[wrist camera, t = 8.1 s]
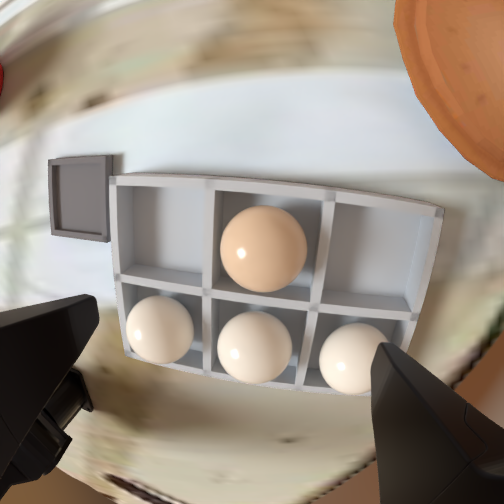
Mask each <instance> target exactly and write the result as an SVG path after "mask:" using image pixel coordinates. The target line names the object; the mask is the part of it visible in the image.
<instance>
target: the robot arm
mask: <svg viewBox="0 0 504 504" xmlns="http://www.w3.org/2000/svg"><path fill="white" fill-rule="evenodd" d="M98 324H99V312H98V306H97V301H96V298H95V297H94V296H91V295H87V294H82V295H78V296H73V297H68V298H64V299H59V300H55V301H50V302H45V303H41V304H36V305H31V306H27V307H22V308H17V309H13V310H8V311H3V312H0V500H1V499H2V497H3V496H4V495H5V493H6V492H7V491H8V489H9V488H10V487H11V486H12V485H16V484H21V483H25V482H30V481H34V480H38V479H39V478H40V477H41V475H42V474H43V475H47V474H48V473H50V472H51V471H52V470H53V469H54V468H55V467H56V465H57V464H58V463H59V461H60V459H61V458H62V456H63V454H64V453H65V451H66V449H67V448H68V446H69V444H70V443H71V441H72V438H71V437H70V436H68V435H67V434H66V433H65V432H64V431H63V430H64V429H65V428H66V427H67V425H68V424H69V423H70V422H71V421H72V419H73V418H74V417H75V416H76V415H77V413H78V412H79V411H80V410H81V409H84V410H86V411H89V412H92V411H93V410H94V409H93V406H92V403H91V401H90V398H89V395H88V392H87V389H86V386H85V383H84V380H83V377H82V375H81V373H80V372H79V371H77V370H74V369H72V368H71V367H72V366H73V365H74V363H75V362H76V360H77V359H78V357H79V356H80V354H81V353H82V351H83V349H84V348H85V346H86V344H87V343H88V341H89V339H90V338H91V336H92V334H93V333H94V331H95V329H96V328H97V326H98ZM370 376H371V412H372V423H373V430H374V438H375V447H376V457H377V466H378V477H379V490H380V504H504V429H503V428H502V427H500V426H499V425H497V424H496V423H495V422H493V421H492V420H490V419H489V418H488V417H486V416H485V415H484V414H482V413H481V412H480V411H478V410H477V409H476V408H475V407H473V406H472V405H471V404H470V403H467V401H466V400H465V399H463V398H462V397H461V396H460V395H458V394H457V393H456V392H455V391H453V390H452V389H451V388H450V387H448V386H447V385H446V384H445V383H443V382H442V381H441V380H440V379H438V378H437V377H436V376H435V375H433V374H432V373H431V372H429V371H428V370H427V369H426V368H424V367H423V366H422V365H421V364H419V363H418V362H417V361H416V360H414V359H413V358H412V357H410V356H409V355H408V354H407V353H405V352H404V351H403V350H401V349H400V348H399V347H398V346H396V345H395V344H394V343H391V342H380V343H379V344H378V346H377V349H376V352H375V355H374V358H373V361H372V364H371V370H370Z"/></svg>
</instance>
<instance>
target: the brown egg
mask: <svg viewBox="0 0 504 504" xmlns="http://www.w3.org/2000/svg"><path fill="white" fill-rule="evenodd" d="M220 254H221V259H222V263H223V266H224V268H225V270H226V271H227V273H228V275H229V276H230V277H231V278H232V279H233V280H234V281H235V282H236V283H237V284H239V285H240V286H242V287H244V288H246V289H248V290H251V291H255V292H273V291H276V290H279V289H282V288H284V287H286V286H287V285H289V284H290V283H291V282H293V281H294V280H295V279H296V278H297V276H298V275H299V274H300V272H301V271H302V269H303V267H304V264H305V261H306V257H307V240H306V236H305V234H304V231H303V229H302V227H301V225H300V224H299V222H298V221H297V220H296V219H295V218H294V217H293V216H292V215H291V214H290V213H288V212H286V211H285V210H283V209H281V208H278V207H275V206H269V205H258V206H253V207H250V208H247V209H245V210H243V211H241V212H239V213H238V214H237V215H235V216H234V217H233V218H232V219H231V221H230V222H229V223H228V224H227V226H226V228H225V230H224V232H223V234H222V238H221V243H220Z"/></svg>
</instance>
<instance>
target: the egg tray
mask: <svg viewBox="0 0 504 504" xmlns="http://www.w3.org/2000/svg"><path fill="white" fill-rule="evenodd" d="M258 205H269V206H275V207H278V208H281V209H283V210H285V211H286V212H288V213H290V214H291V215H292V216H293V217H294V218H295V219H296V220H297V221H298V222H299V224H300V225H301V227H302V229H303V231H304V234H305V236H306V240H307V257H306V261H305V264H304V267H303V269H302V271H301V272H300V274H299V275H298V276H297V278H296V279H295V280H294V281H293V282H291V283H290V284H289V285H287V286H286V287H284V288H282V289H279V290H276V291H273V292H255V291H251V290H248V289H246V288H244V287H242V286H240V285H239V284H237V283H236V282H235V281H234V280H233V279H232V278H231V277H230V276H229V275H228V273H227V271H226V270H225V268H224V266H223V263H222V259H221V254H220V243H221V238H222V234H223V232H224V230H225V228H226V226H227V224H228V223H229V222H230V221H231V219H232V218H233V217H234V216H235V215H237V214H238V213H239V212H241V211H243V210H245V209H247V208H250V207H253V206H258ZM109 208H110V232H111V248H112V261H113V272H114V282H115V291H116V299H117V307H118V314H119V321H120V328H121V334H122V340H123V346H124V351H125V356H127V357H131V358H134V359H138V360H141V361H145V362H148V361H146V360H144V359H142V358H141V357H140V356H138V355H137V354H136V353H135V352H134V350H133V349H132V348H131V346H130V344H129V342H128V339H127V335H126V322H127V318H128V316H129V313H130V312H131V310H132V308H133V307H134V306H135V305H136V304H137V303H138V302H140V301H141V300H143V299H145V298H147V297H150V296H155V295H162V296H168V297H171V298H173V299H175V300H177V301H179V302H180V303H181V304H182V305H183V306H184V307H185V308H186V309H187V310H188V312H189V313H190V315H191V317H192V320H193V324H194V339H193V342H192V345H191V347H190V349H189V350H188V351H187V353H186V354H185V355H184V356H183V357H181V358H180V359H178V360H177V361H175V362H172V363H168V364H156V365H160V366H164V367H168V368H172V369H176V370H180V371H184V372H189V373H193V374H198V375H202V376H207V377H212V378H217V379H222V380H228V381H233V382H239V383H244V382H241V381H239V380H237V379H235V378H233V377H232V376H231V375H229V374H228V373H227V372H226V370H225V369H224V368H223V366H222V364H221V362H220V360H219V357H218V351H217V344H218V338H219V335H220V333H221V330H222V329H223V327H224V326H225V325H226V323H227V322H228V321H229V320H231V319H232V318H233V317H235V316H237V315H238V314H241V313H244V312H248V311H262V312H266V313H269V314H271V315H273V316H275V317H276V318H278V319H279V320H280V321H281V322H282V323H283V324H284V325H285V326H286V328H287V330H288V331H289V333H290V336H291V340H292V355H291V359H290V361H289V363H288V365H287V367H286V368H285V370H284V371H283V372H282V373H281V374H280V375H279V376H278V377H276V378H275V379H273V380H271V381H268V382H266V383H261V384H251V385H257V386H264V387H271V388H278V389H286V390H294V391H303V392H313V393H324V394H337V395H348V394H343V393H340V392H338V391H336V390H335V389H333V388H332V387H331V386H329V385H328V384H327V382H326V381H325V379H324V378H323V376H322V373H321V371H320V366H319V356H320V351H321V348H322V346H323V343H324V342H325V340H326V339H327V337H328V336H329V335H330V334H331V333H332V332H333V331H334V330H336V329H337V328H339V327H341V326H343V325H346V324H349V323H365V324H369V325H372V326H374V327H375V328H377V329H378V330H380V331H381V332H382V333H383V334H384V336H385V337H386V338H387V340H388V342H391V343H394V344H395V345H396V346H398V347H399V348H400V349H401V350H403V351H404V352H405V353H407V350H408V347H409V344H410V342H411V339H412V336H413V333H414V330H415V327H416V324H417V321H418V318H419V315H420V312H421V309H422V305H423V302H424V299H425V295H426V292H427V288H428V284H429V281H430V277H431V273H432V269H433V265H434V261H435V256H436V252H437V247H438V243H439V238H440V233H441V228H442V222H443V217H444V211H445V209H444V208H442V207H439V206H437V205H434V204H432V203H430V202H425V201H420V200H415V199H409V198H403V197H398V196H392V195H385V194H379V193H373V192H366V191H359V190H352V189H345V188H338V187H330V186H322V185H313V184H305V183H295V182H286V181H275V180H265V179H253V178H240V177H226V176H209V175H189V174H162V173H126V174H119V175H112V176H109ZM149 363H151V362H149ZM152 364H155V363H152ZM245 384H248V383H245ZM353 396H371V391H369V392H366V393H363V394H359V395H353Z"/></svg>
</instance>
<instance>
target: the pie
mask: <svg viewBox="0 0 504 504" xmlns="http://www.w3.org/2000/svg"><path fill="white" fill-rule="evenodd" d="M393 25H394V29H395V32H396V35H397V39H398V43H399V46H400V50H401V54H402V58H403V61H404V64H405V66H406V69H407V71H408V74H409V77H410V80H411V83H412V85H413V88H414V91H415V94H416V97H417V98H418V100H419V101H420V102H421V104H422V105H423V107H424V108H425V110H426V111H427V112H428V114H429V115H430V117H431V118H432V120H433V121H434V123H435V124H436V126H437V128H438V129H439V131H440V132H441V133H442V134H443V135H444V136H445V137H446V138H447V139H448V140H449V141H450V142H451V144H452V145H453V146H454V147H455V148H456V149H457V150H458V151H459V153H460V154H461V155H462V156H463V157H464V158H465V159H466V160H467V161H469V162H470V163H472V164H473V165H475V166H476V167H477V168H479V169H480V170H482V171H483V172H484V173H486V174H487V175H488V176H490V177H491V178H493V179H497V180H500V181H503V182H504V0H396V3H395V13H394V22H393Z"/></svg>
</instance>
